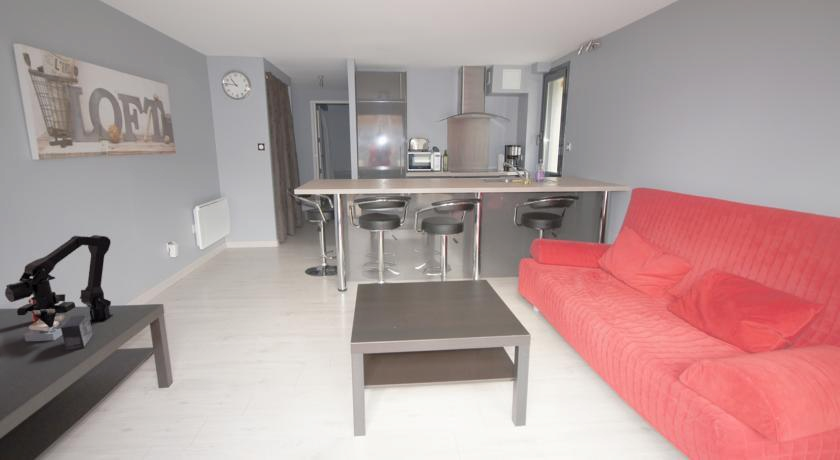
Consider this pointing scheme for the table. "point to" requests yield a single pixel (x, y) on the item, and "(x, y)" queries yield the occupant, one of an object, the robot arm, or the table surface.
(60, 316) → the rocker
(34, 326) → the rocker
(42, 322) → the rocker
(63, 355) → the table surface
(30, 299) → the soda can
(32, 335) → the switch unit
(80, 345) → the small box
